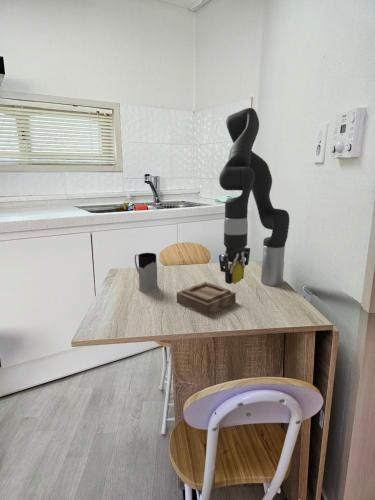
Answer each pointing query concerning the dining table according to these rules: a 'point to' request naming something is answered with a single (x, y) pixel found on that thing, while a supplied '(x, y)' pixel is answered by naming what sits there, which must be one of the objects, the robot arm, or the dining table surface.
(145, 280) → the glass holder
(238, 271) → the lemon
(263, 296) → the dining table surface
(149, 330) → the dining table surface
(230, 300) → the brown wooden crate
